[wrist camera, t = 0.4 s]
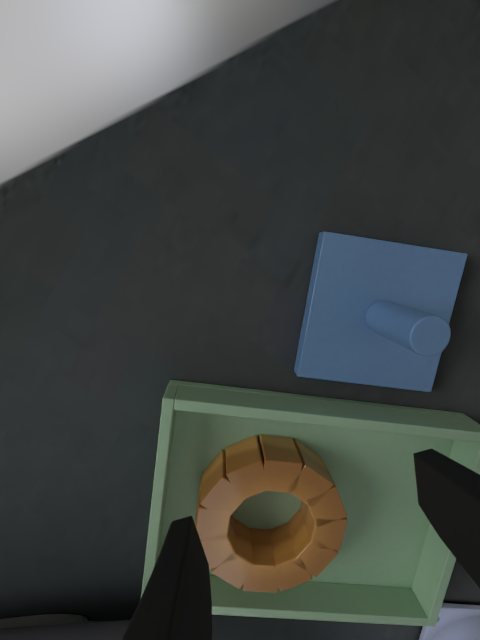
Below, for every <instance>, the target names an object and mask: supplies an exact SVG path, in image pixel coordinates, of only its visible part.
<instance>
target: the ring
mask: <svg viewBox="0 0 480 640" xmlns="http://www.w3.org/2000/svg"><path fill="white" fill-rule="evenodd" d="M225 449H226V451H225V450H223V449H222V450H221V451H220V452H219V454H218V455H217V456H216V457H215V458H214V460H213V461H212V462H211V463H210V464H209V465H208V467H207V468H206V469H205V470H204V471H203V473H202V476H201V478H200V484H199V491H198V498H197V506H196V517H195V526H196V529H197V532H198V535H199V538H200V540H201V543H202V546H203V549H204V552H205V555H206V558H207V561H208V564H209V570H210V569H211V572H212V574H214V575H216V576H217V577H219V578H221V579H223V580H224V581H226V582H228V583H229V584H231V585H233V586H234V587H236V588H238V589H240V588H241V586H242V590H243V591H254V592H270V593H277V590H278V588H279V590H280V591H284V590H287V589H289V588H292V587H295V586H297V585H300V584H302V583H305V582H307V581H310V580H312V575H313V576H314V577H317V576H318V575H319V574H320V573H321V572H322V571H323V570H324V569H325V568H326V566H327V565H328V564H329V563H330V562H331V561H332V560H333V559H334V558H335V557H336V556H337V555H338V550H341V546H342V542H343V538H344V533H345V529H346V525H347V521H348V520H347V513H346V510H345V508H344V505H343V503H342V500H341V498H340V495H339V492H338V490H337V487H336V485H335V483H334V481H333V479H332V477H331V475H330V473H329V471H328V469H327V467H326V465H325V463H324V461H323V459H321V457H320V456H319V455H318V454H316V453H315V452H314V451H312V450H311V449H309V448H308V447H307V446H305V445H304V444H302V443H301V442H300V441H298V440H297V439H295V440H294V441H293V438H292V437H283V436H273V435H264V434H260V435H259V440H258V437H257V436H256V435H255V436H252V437H250V438H247V439H244V440H242V441H239V442H237V443H234V444H232V445H229V446H227V447H226V448H225ZM264 491H275V492H286V493H291V494H292V495H294V496H295V497H297V498H298V499H300V500H301V506H300V509H299V510H298V511H297V512H296V513H295V514H294V516H293V517H292V518H291V519H290V520H289V521H288V522H287V523H285V524H282V525H280V526H277V527H275V528H272V529H259V528H249V527H247V526H245V525H244V524H242V523H241V522H239V521H238V520H236V519H234V517H233V515H232V514H233V513H234V512H235V510H236V509H237V508H238V507H239V506H240V505H241V504H242V502H243V501H244V500H245V499H247V498H249V497H252V496H254V495H257V494H259V493H262V492H264Z"/></svg>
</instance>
